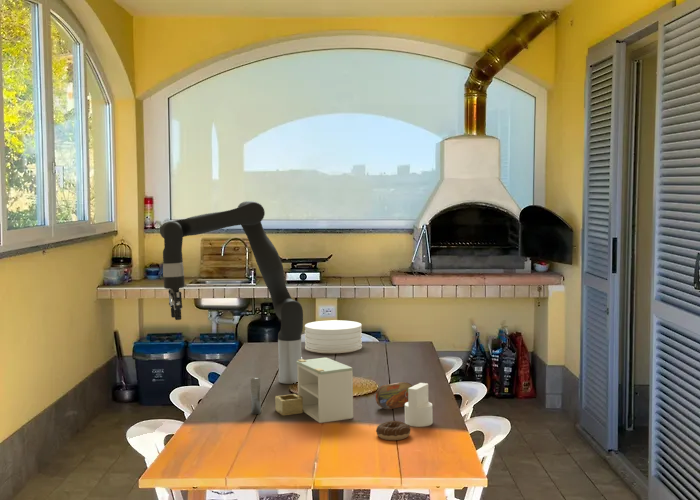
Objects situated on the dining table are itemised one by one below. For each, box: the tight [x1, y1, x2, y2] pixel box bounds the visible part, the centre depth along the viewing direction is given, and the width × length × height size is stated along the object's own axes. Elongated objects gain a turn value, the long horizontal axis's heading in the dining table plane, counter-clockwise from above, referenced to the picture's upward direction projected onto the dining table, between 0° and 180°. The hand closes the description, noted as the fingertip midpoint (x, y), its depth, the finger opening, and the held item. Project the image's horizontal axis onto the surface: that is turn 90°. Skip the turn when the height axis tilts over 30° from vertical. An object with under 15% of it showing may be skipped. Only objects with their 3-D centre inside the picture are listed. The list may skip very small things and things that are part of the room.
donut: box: [375, 420, 411, 441], centre depth 232 cm, size 11×11×4 cm
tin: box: [375, 381, 413, 410], centre depth 264 cm, size 15×3×8 cm, turn 118°
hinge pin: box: [250, 376, 262, 415], centre depth 259 cm, size 3×3×12 cm
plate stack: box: [304, 319, 363, 354], centre depth 373 cm, size 28×28×12 cm
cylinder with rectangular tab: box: [404, 382, 434, 428], centre depth 245 cm, size 9×9×12 cm
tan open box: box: [274, 393, 303, 416], centre depth 260 cm, size 8×7×5 cm
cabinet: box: [296, 356, 354, 424], centre depth 257 cm, size 13×20×17 cm, turn 25°
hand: (176, 318), depth 281 cm, fingers open, 8 cm apart
